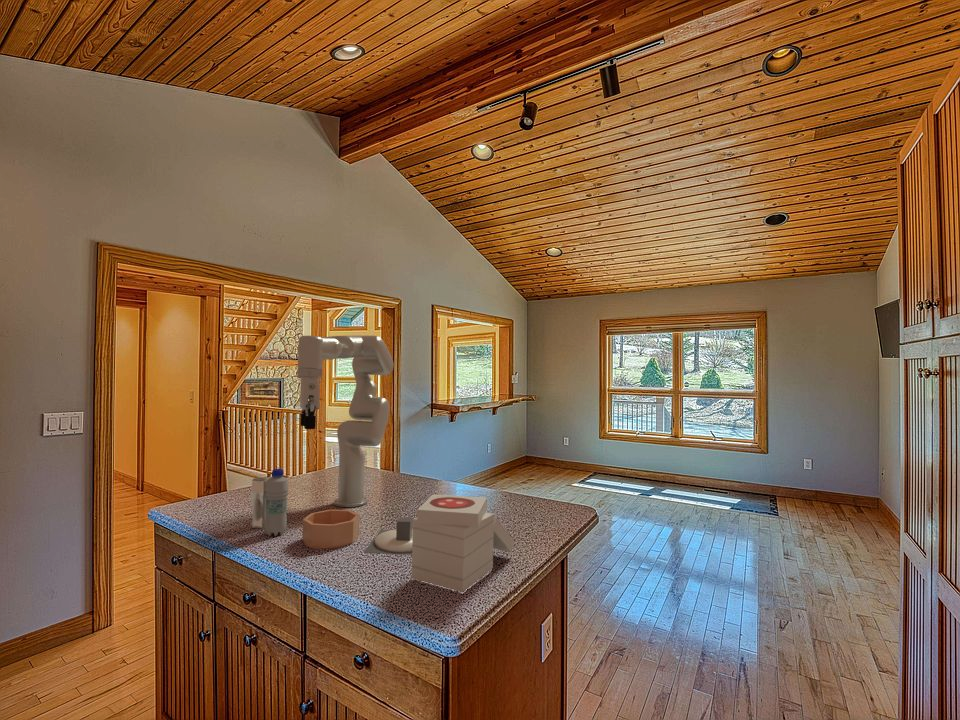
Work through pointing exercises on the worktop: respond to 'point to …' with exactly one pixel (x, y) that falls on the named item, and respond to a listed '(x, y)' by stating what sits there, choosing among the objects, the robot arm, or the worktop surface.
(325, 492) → the worktop surface
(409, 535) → the lid
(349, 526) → the bowl
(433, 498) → the pizza boxes
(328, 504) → the worktop surface
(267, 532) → the bottle
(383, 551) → the mat
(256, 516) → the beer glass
